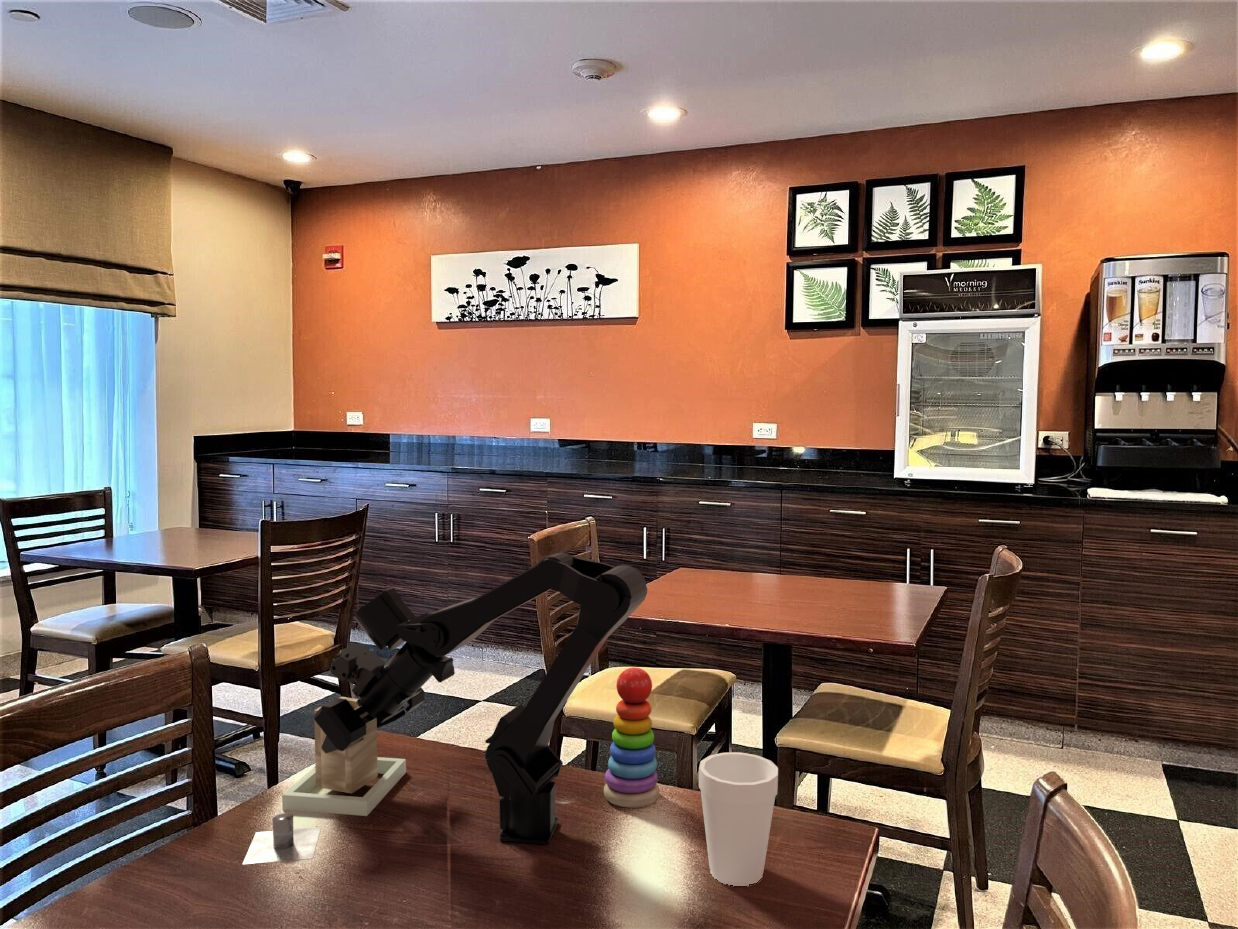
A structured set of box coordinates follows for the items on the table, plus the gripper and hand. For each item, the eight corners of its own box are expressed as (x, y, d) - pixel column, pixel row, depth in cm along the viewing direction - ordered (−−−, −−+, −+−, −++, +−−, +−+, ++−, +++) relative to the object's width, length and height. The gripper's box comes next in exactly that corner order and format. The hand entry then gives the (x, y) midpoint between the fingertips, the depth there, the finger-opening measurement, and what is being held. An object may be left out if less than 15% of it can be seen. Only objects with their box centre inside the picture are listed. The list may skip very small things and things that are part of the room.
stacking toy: (660, 811, 124) (661, 678, 122) (602, 810, 124) (603, 677, 122) (658, 786, 131) (660, 661, 130) (604, 785, 132) (605, 660, 130)
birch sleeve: (377, 776, 129) (376, 701, 128) (351, 793, 123) (350, 715, 122) (333, 768, 131) (332, 695, 130) (306, 785, 126) (304, 708, 125)
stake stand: (321, 834, 116) (320, 801, 116) (312, 866, 108) (311, 830, 108) (256, 840, 115) (255, 806, 114) (242, 872, 107) (241, 836, 106)
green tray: (406, 778, 133) (405, 759, 133) (366, 823, 119) (366, 801, 119) (329, 773, 135) (329, 754, 135) (282, 816, 121) (282, 794, 121)
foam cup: (725, 902, 102) (727, 791, 101) (682, 864, 110) (684, 761, 109) (792, 881, 106) (794, 775, 105) (746, 846, 114) (748, 747, 113)
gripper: (406, 614, 133) (345, 679, 137) (324, 647, 115) (258, 720, 120) (453, 672, 131) (390, 735, 135) (377, 714, 113) (307, 786, 118)
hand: (338, 742), depth 127 cm, fingers closed on birch sleeve, 6 cm apart
